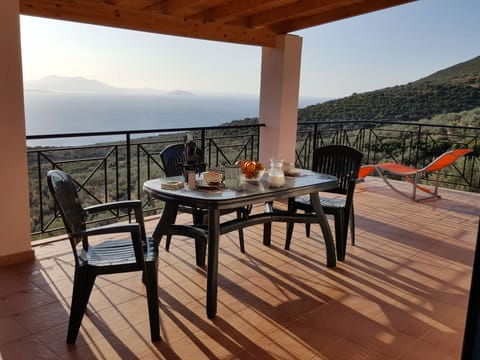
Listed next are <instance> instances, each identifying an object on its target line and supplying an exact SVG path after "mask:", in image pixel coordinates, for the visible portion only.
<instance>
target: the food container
mask: <svg viewBox="0 0 480 360" xmlns="http://www.w3.org/2000/svg"><path fill="white" fill-rule="evenodd" d="M207 171H208V173H209V172H214V173H219V174H222V181H221V183H222V184H221V185H223V184H224V182H225V168H224V167H219V166H218V167H217V166H216V167H215V166H214V167H208V170H207Z"/></svg>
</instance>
